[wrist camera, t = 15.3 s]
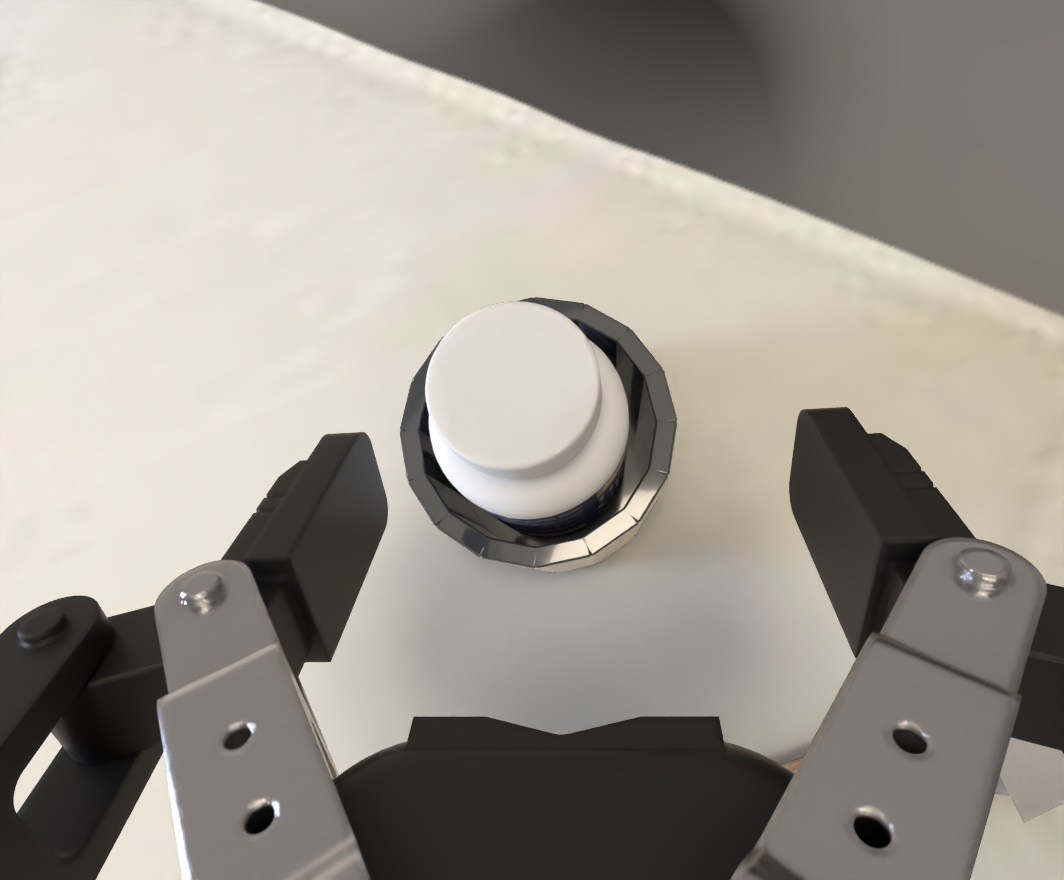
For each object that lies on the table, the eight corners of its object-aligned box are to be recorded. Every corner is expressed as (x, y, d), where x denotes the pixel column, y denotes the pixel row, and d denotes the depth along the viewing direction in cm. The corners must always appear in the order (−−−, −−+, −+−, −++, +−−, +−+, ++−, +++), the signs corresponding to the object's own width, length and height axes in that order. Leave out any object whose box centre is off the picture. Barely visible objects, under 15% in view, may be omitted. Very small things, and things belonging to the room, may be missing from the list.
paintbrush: (1387, 707, 17) (672, 933, 19) (1287, 689, 20) (668, 889, 21) (1296, 567, 18) (623, 793, 20) (1212, 568, 21) (625, 768, 22)
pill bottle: (630, 536, 23) (641, 498, 13) (480, 542, 23) (390, 510, 14) (620, 390, 24) (624, 260, 15) (478, 399, 25) (394, 281, 15)
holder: (631, 343, 25) (637, 270, 19) (684, 546, 23) (707, 531, 17) (435, 390, 26) (383, 332, 20) (470, 591, 24) (424, 592, 18)
